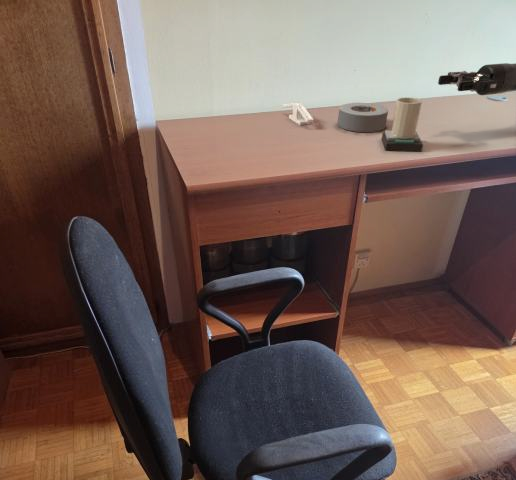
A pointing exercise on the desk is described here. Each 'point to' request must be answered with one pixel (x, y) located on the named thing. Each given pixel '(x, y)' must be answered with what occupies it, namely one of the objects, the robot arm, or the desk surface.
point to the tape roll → (362, 117)
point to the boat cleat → (300, 114)
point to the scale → (401, 143)
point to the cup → (406, 117)
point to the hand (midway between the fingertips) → (449, 83)
